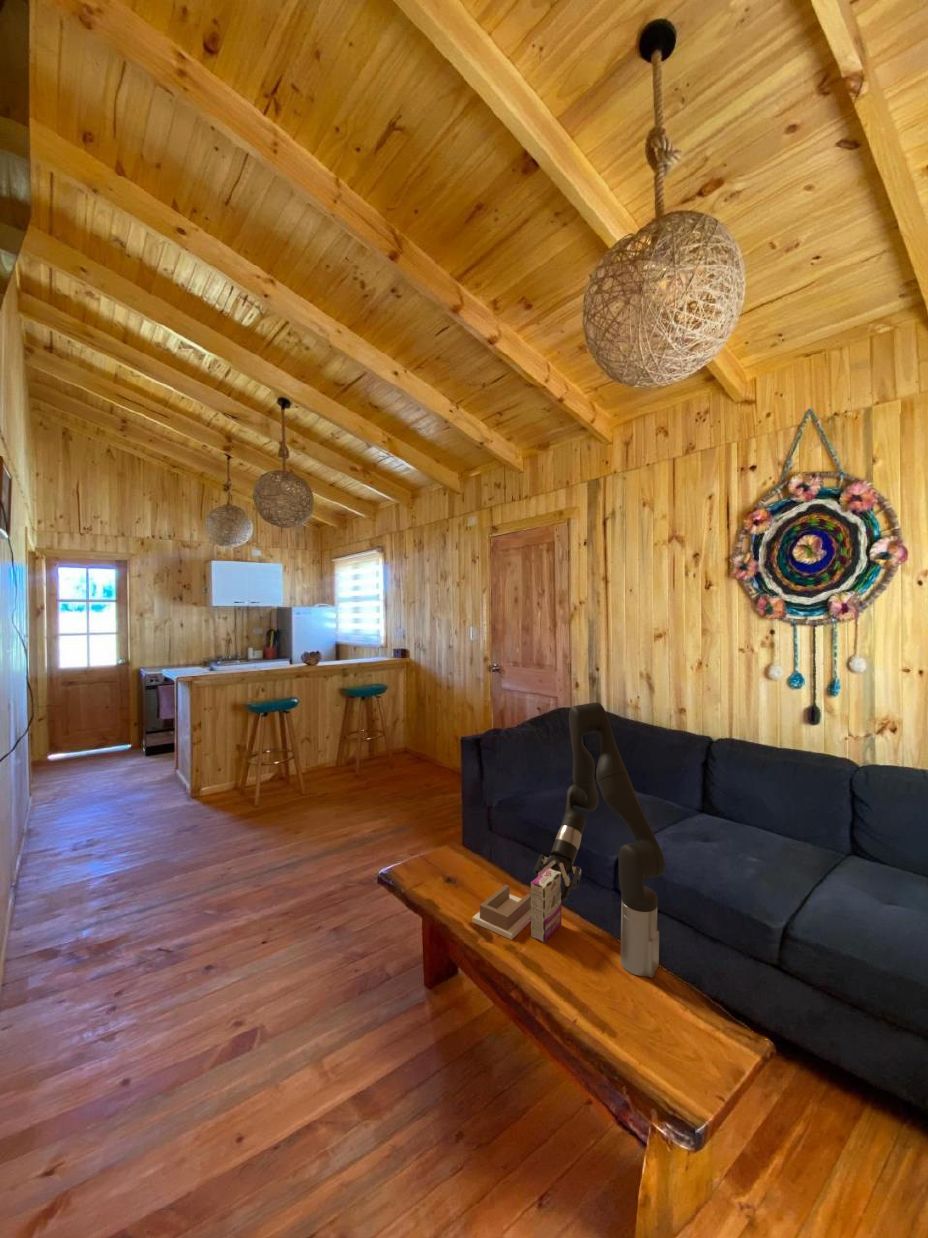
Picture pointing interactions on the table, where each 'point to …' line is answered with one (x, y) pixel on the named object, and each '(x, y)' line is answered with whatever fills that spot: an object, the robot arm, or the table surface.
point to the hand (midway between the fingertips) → (549, 895)
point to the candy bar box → (545, 904)
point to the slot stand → (504, 913)
